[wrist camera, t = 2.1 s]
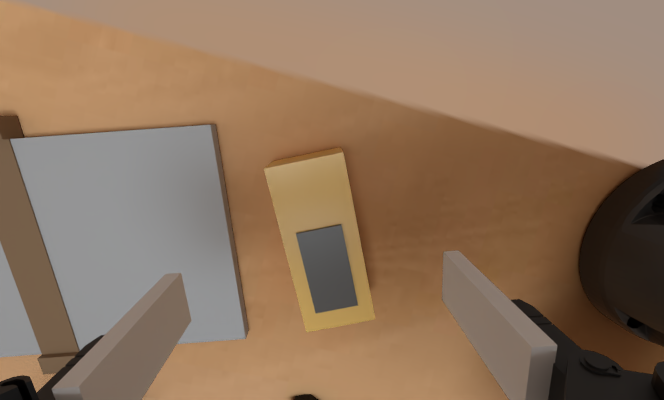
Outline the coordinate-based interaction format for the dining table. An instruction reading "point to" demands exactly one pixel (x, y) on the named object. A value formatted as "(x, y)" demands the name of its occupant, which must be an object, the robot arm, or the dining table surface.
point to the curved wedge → (305, 397)
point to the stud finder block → (321, 238)
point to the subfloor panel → (111, 235)
